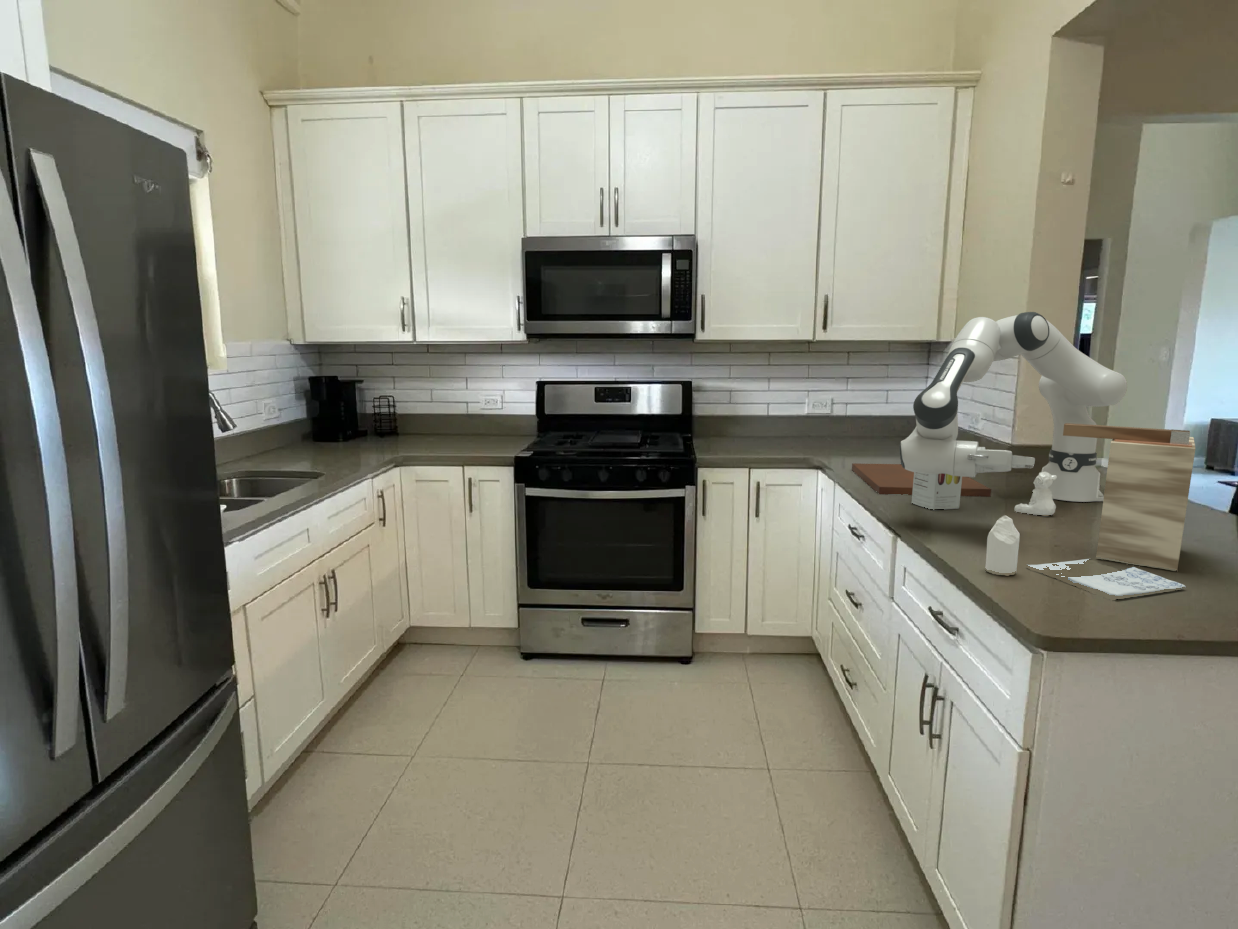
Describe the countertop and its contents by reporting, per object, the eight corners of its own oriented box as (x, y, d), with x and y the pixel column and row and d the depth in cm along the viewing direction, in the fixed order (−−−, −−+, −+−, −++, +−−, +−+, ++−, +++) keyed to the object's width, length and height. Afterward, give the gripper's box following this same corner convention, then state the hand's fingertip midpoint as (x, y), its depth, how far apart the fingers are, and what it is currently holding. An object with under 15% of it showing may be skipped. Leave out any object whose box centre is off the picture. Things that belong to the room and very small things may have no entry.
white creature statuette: (1036, 508, 198) (1041, 467, 196) (1065, 515, 190) (1070, 472, 188) (1012, 511, 195) (1016, 469, 193) (1040, 519, 187) (1045, 475, 185)
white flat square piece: (1112, 604, 129) (1113, 593, 129) (1022, 570, 148) (1023, 560, 148) (1187, 593, 135) (1189, 583, 134) (1091, 561, 154) (1092, 552, 153)
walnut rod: (1064, 433, 160) (1065, 422, 159) (1187, 442, 146) (1189, 430, 146) (1062, 435, 156) (1063, 424, 156) (1188, 444, 143) (1190, 432, 143)
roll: (998, 520, 140) (983, 513, 146) (993, 576, 143) (978, 567, 148) (1028, 519, 141) (1011, 512, 146) (1022, 576, 143) (1006, 567, 148)
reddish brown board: (945, 473, 252) (851, 471, 256) (946, 464, 251) (852, 463, 255) (990, 498, 213) (878, 496, 217) (991, 489, 212) (879, 486, 216)
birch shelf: (1103, 538, 169) (1117, 430, 164) (1176, 549, 160) (1193, 435, 156) (1095, 559, 153) (1110, 440, 149) (1176, 572, 145) (1195, 447, 140)
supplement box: (932, 511, 196) (937, 451, 193) (910, 503, 204) (914, 446, 201) (960, 508, 199) (965, 450, 195) (937, 501, 207) (941, 445, 204)
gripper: (967, 442, 163) (1036, 445, 156) (972, 449, 181) (1034, 453, 174) (965, 469, 163) (1034, 473, 156) (970, 474, 180) (1031, 478, 174)
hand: (1034, 463), depth 165 cm, fingers open, 8 cm apart
